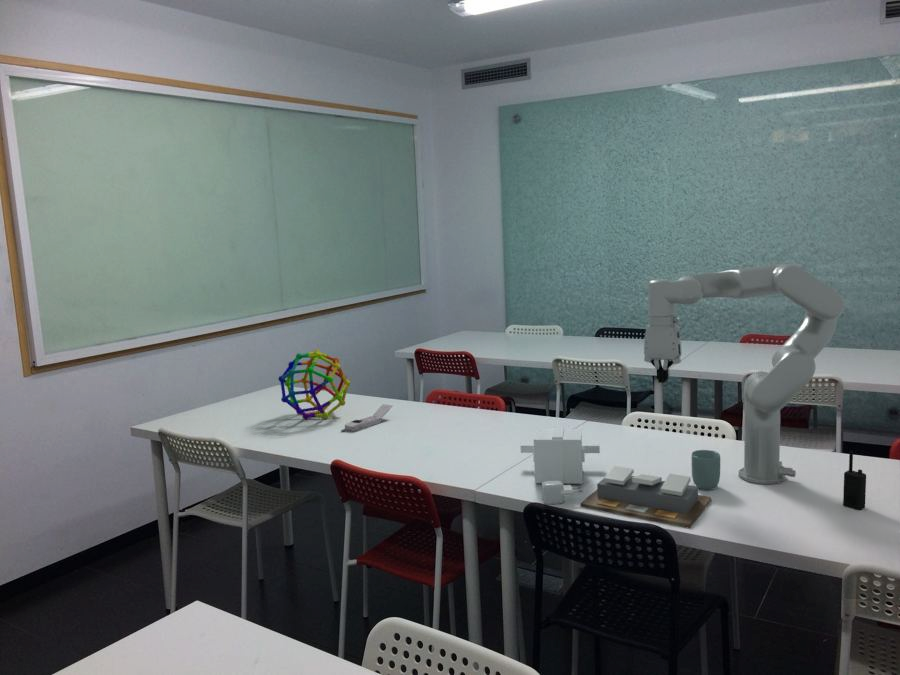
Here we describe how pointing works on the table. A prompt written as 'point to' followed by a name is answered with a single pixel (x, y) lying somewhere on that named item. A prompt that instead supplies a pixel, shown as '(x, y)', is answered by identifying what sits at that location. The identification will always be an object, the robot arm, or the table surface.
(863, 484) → the walkie-talkie
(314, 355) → the geometric model
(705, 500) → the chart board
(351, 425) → the mobile phone
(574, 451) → the blocky voxel creature
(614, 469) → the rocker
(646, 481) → the rocker
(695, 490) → the switch housing
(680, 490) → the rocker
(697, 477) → the cup
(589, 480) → the table surface
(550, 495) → the power adapter
